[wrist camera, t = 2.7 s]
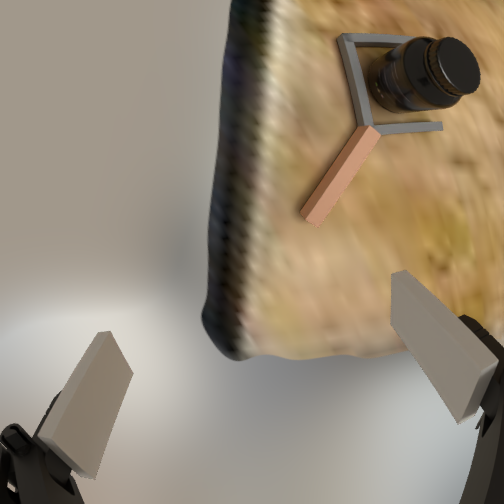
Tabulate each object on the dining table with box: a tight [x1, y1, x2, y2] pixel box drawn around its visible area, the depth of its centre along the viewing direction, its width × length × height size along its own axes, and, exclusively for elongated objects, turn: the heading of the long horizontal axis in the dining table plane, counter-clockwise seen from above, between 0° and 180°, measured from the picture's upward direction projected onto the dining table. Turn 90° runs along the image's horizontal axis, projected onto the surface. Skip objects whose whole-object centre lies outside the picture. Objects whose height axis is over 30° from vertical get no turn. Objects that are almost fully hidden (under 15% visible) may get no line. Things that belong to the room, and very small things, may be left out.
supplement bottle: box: [368, 36, 481, 113], centre depth 20 cm, size 7×7×12 cm
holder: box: [300, 33, 443, 228], centre depth 25 cm, size 19×18×3 cm
